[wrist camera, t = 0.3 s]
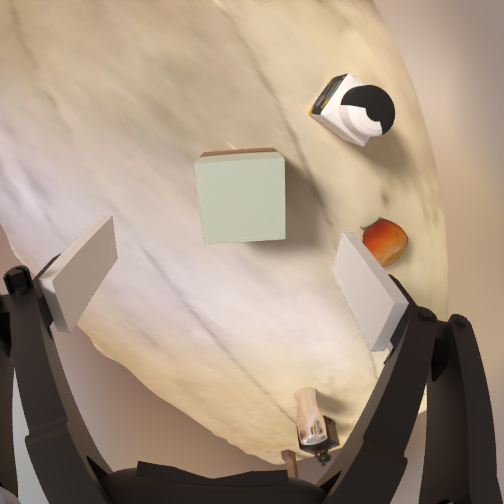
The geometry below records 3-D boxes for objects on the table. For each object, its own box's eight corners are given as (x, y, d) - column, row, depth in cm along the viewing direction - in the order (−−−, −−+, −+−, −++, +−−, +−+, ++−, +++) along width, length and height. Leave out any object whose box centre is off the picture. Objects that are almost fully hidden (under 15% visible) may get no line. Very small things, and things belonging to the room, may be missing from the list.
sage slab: (199, 157, 34) (193, 164, 29) (278, 151, 34) (284, 158, 30) (207, 228, 39) (204, 244, 34) (279, 223, 39) (285, 239, 34)
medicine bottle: (332, 77, 33) (367, 67, 23) (368, 105, 35) (411, 108, 25) (306, 113, 36) (333, 115, 25) (344, 141, 38) (381, 154, 27)
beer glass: (315, 397, 69) (325, 442, 56) (291, 400, 69) (298, 446, 56) (318, 384, 66) (330, 432, 53) (293, 387, 66) (301, 437, 53)
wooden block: (295, 452, 93) (299, 482, 79) (288, 454, 93) (292, 484, 80) (288, 449, 90) (292, 481, 77) (280, 451, 91) (284, 482, 77)
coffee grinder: (337, 422, 80) (347, 465, 64) (309, 433, 82) (316, 475, 67) (318, 409, 73) (329, 459, 57) (287, 421, 76) (294, 470, 60)
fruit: (383, 198, 41) (413, 235, 37) (388, 219, 47) (414, 252, 43) (345, 227, 43) (373, 266, 39) (355, 244, 49) (378, 278, 45)
